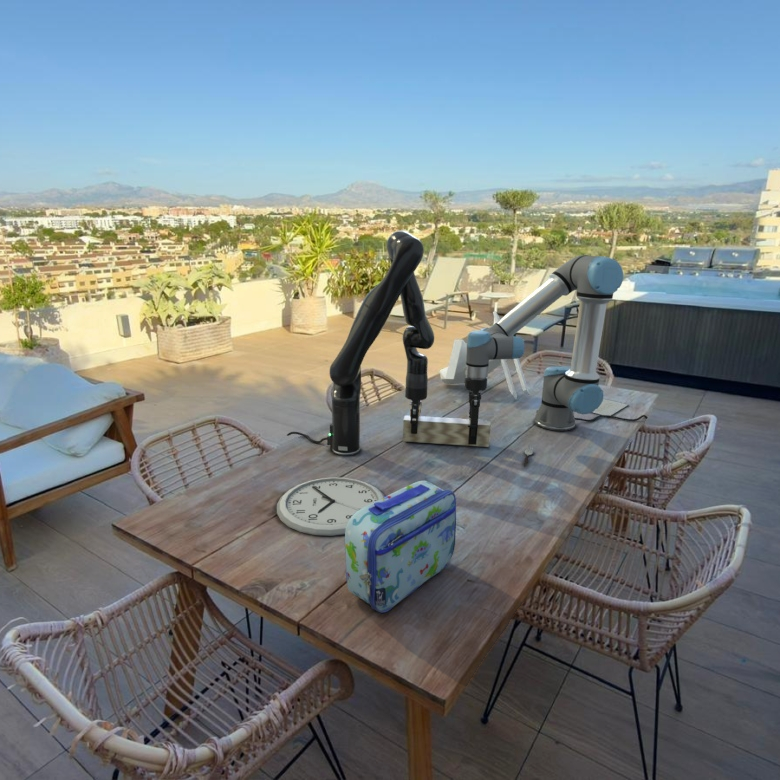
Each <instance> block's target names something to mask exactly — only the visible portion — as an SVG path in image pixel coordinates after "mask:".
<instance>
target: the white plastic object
mask: <svg viewBox="0 0 780 780" xmlns="http://www.w3.org/2000/svg"><path fill="white" fill-rule="evenodd" d="M492 315H493V319H494V321H495V323H496V322H498V321H499V320H500V319H501V318H500V315H499V314H498V312H497V311H496V310H495V311H492ZM466 355H467V342H465V340H464V339H463V338H460V339H458V338H454V340H453V344H452V349H451V353H450V357H449V362H448V366H446V367H444V368H442V369H440V370H439V371H438V372H439V376H440V381H442V383H443V384H444V385H445V386H449V385H458V384H465V377H466V375H465V373H466V370H464V367H466ZM510 360H511V361H512V360H513V363H514V366H515V369H516V372H517V376H518V380H519V382H520V385H521V389H522V391H523V393H524V395H525V396H526V397H528V396H531V395H530V390H529V388H528V387H529V386H528V384H527V381H526V378H525V375H524V371H523V369H522V368H523V367H522V366H521V362H520V358H517V359H495V360H489V366H488V375H489V374H490V373H492V372H494V371H495V370H496V369H497V368H499V367H500V366H502V370H503V373H504V376H505V380H506V383H507V386H508V390H509V393H510V394H511V395H512V397H513V398H514V399H515V400H517V392H516V391H517V390H516V388H515V385H514V381H513V378H512V375H511V371H510V369H509V365H508V361H510Z"/></svg>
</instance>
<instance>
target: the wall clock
mask: <svg viewBox="0 0 780 780" xmlns="http://www.w3.org/2000/svg"><path fill="white" fill-rule="evenodd" d="M384 497H386V495H385V494H384V493H383V492H382V491H381V490H380V489H379V488H377V487H376V486H374V485H372V484H371V483H369V482H365V481H362V480H359V479H355V478H349V477H338V476H337V477H335V476H333V477H332V476H331V477H322V478H317V479H312V480H307V481H305V482H302V483H299V484H297V485H295V486H293V487H292V488H290V489H288V490H287V491H286V492H285V493H284V494H283V495H281V496H280V498H279V499H278V502H277V503H276V515H277V517H278V518H279V520H280V521H281V522H282V523H283V524H285V525H286V526H287V527H288V528H290V529H293V530H295V531H297V532H299V533H303V534H308V535H312V536H327V537H328V536H329V537H331V536H332V537H333V536H342V535H345V531H346V527H347V524H348V522H349V520H350V518H351V517H352V515H353V514H354V513H355V512H357V511H358V510H360V509H362V508H364V507H366V506H368V505H370V504H372V503H374V502H376V501H378V500H380V499H382V498H384Z"/></svg>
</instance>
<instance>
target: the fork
mask: <svg viewBox="0 0 780 780" xmlns="http://www.w3.org/2000/svg"><path fill="white" fill-rule="evenodd" d="M533 451H534V446H530V445H528V444H526V446H525V450H524V454H525V455H526V456H525V458H524V466H523V467H524V468H526V466H527V464H528V462H529V456H531V455H533V453H534V452H533Z"/></svg>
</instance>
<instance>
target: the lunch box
mask: <svg viewBox="0 0 780 780" xmlns="http://www.w3.org/2000/svg"><path fill="white" fill-rule="evenodd" d="M456 531H457V499H456V495H455V493H454V492H453V490H450V489H442V488H440V487H439V486H437V485H435V484H433V483H432V482H430V481H428V480H418V481H416V482H413V483H410V484H409V485H406V486H405V487H402V488H400V489H398V490H396V491H394V492H392V493H390V494H388V495H385V497H384V498H382V499H380V500H378V501H376V502H374V503H372V504H370V505H368V506H366V507H364V508H362V509H360V510H358V511H357V512H355V513H354V514H353V515H352V517H351V518H350V520H349V522H348V524H347V527H346V531H345V534H344V552H345V577H346V578H345V580H346V586H347V589H348V592H349V593H350V594H352V595H354V596H356V597H357V598H359V599H361V600H363V602H365V603H367V604H368V605H370V607H371V608H372V609H373V610H375V611H376V612H378V613H380V614H382V613H383V614H385V613H387V612H389V611H391V609H393V608H394V607H395V606H396V605H397V604H400V602H401V601H402V600H404V599H406V597H409V596H410V595H411V594H412V593H414V592H415V591H416V590H417V589H418V588H420V587H421V586H422V585H423V584H424V583H425V582H427V581H428V580H430V579H432V578H433V577H434V576H436V575H437V574H439V573H441V572H442V571H443V570H445V568H446V567H447V566H448V564H449V563H450V561H451V560H452V557H453V554H454V551H455V548H456V547H455V546H456Z"/></svg>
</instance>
